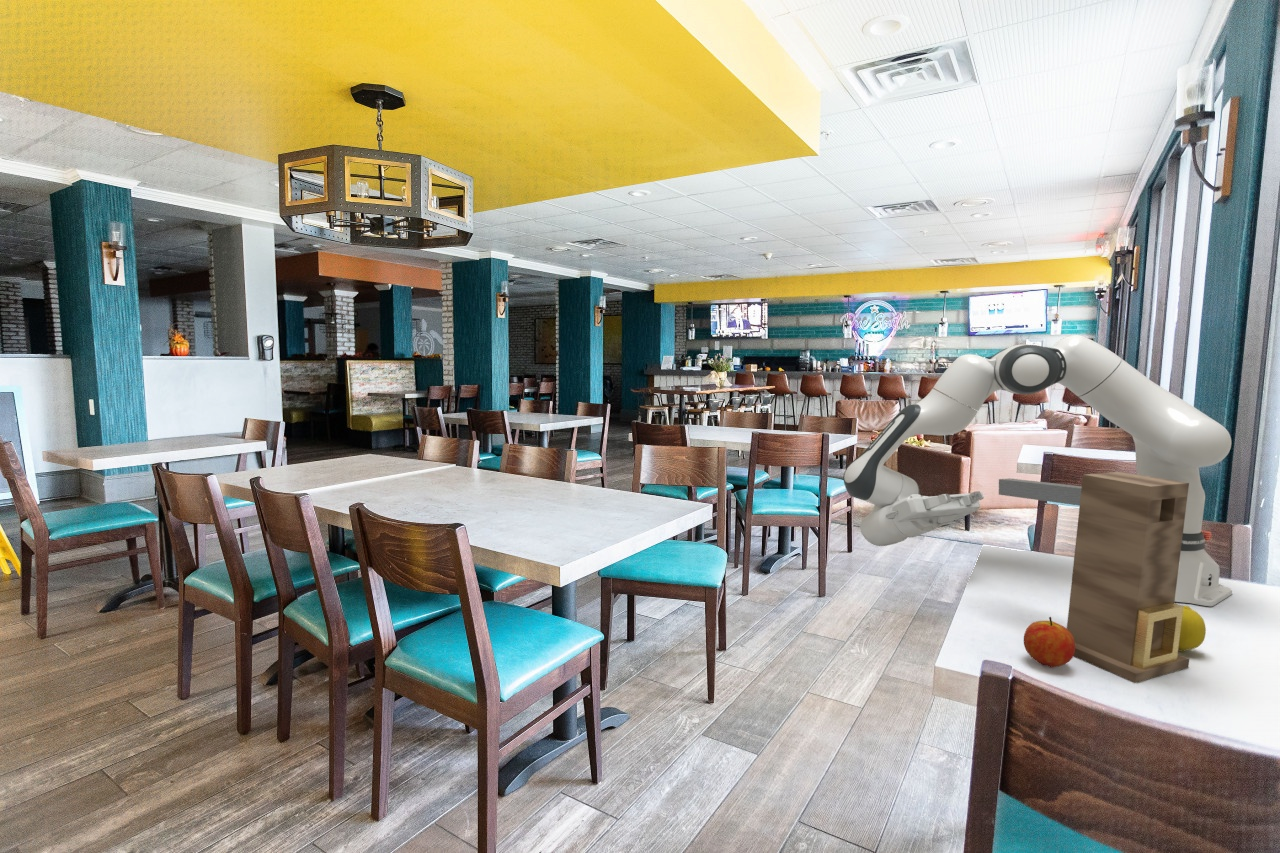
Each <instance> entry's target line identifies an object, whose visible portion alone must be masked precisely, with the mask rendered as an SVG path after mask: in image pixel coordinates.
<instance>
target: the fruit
mask: <svg viewBox="0 0 1280 853" xmlns="http://www.w3.org/2000/svg"><path fill="white" fill-rule="evenodd" d="M1048 619H1049V620H1039V621H1034V622H1032V623H1031V624H1029V625H1028V627H1026V630H1025V631H1024V634H1023V645H1024V648H1025V650H1026V652H1027V654H1028V655H1029V657H1031V658H1032V659H1033V660H1034V661H1035V662H1037V663H1038V664H1039V665H1041V666H1043V667H1049V668H1056V667H1061V666H1064V665H1065V664H1068V663H1070V661H1071V660H1072V659H1073V657H1074V653H1075V642H1074V638H1073V636H1072V634H1071V633H1070V631H1069V630H1068V629H1067V627H1065V626H1063V625H1062V624H1060V623H1057V622H1055V621H1052V617H1051V616H1049V617H1048Z"/></svg>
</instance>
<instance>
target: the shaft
mask: <svg viewBox="0 0 1280 853" xmlns="http://www.w3.org/2000/svg"><path fill="white" fill-rule="evenodd" d="M1081 488H1082V485H1072V484H1063V483H1056V482H1055V483H1054V482H1045V481H1037V480H1036V481H1035V480H1026V479H1018V478H998V495H1000V496H1005V497H1014V498H1022V499H1027V500H1028V499H1029V500H1034V501H1035V500H1036V501H1042V502H1043V501H1044V502H1050V503H1058V504H1064V505H1065V504H1066V505H1073V506H1079V507H1080V498H1081Z"/></svg>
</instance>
